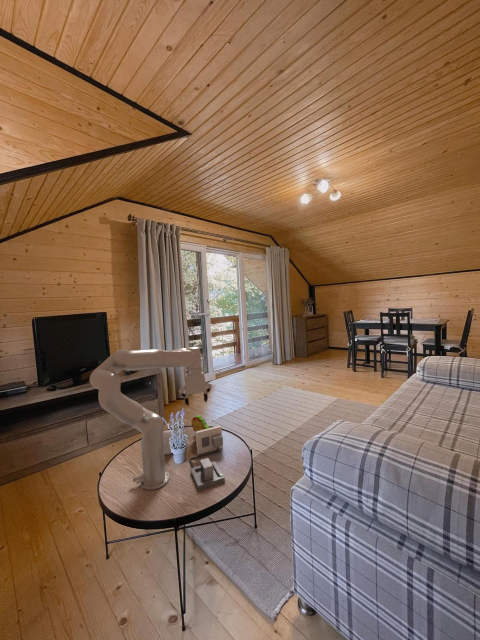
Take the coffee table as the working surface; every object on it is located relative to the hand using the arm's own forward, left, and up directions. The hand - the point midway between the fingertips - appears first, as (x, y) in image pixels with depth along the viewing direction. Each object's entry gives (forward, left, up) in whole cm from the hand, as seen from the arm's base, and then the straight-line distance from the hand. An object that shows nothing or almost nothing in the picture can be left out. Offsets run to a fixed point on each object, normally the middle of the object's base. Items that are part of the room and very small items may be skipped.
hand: (196, 403), depth 140 cm
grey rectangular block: (-2, -19, -28) cm, 33 cm away
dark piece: (+2, -6, -28) cm, 29 cm away
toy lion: (+5, +13, -29) cm, 32 cm away
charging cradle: (-2, -19, -28) cm, 34 cm away
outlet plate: (+6, 0, -28) cm, 29 cm away
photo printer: (-16, +12, -28) cm, 35 cm away
